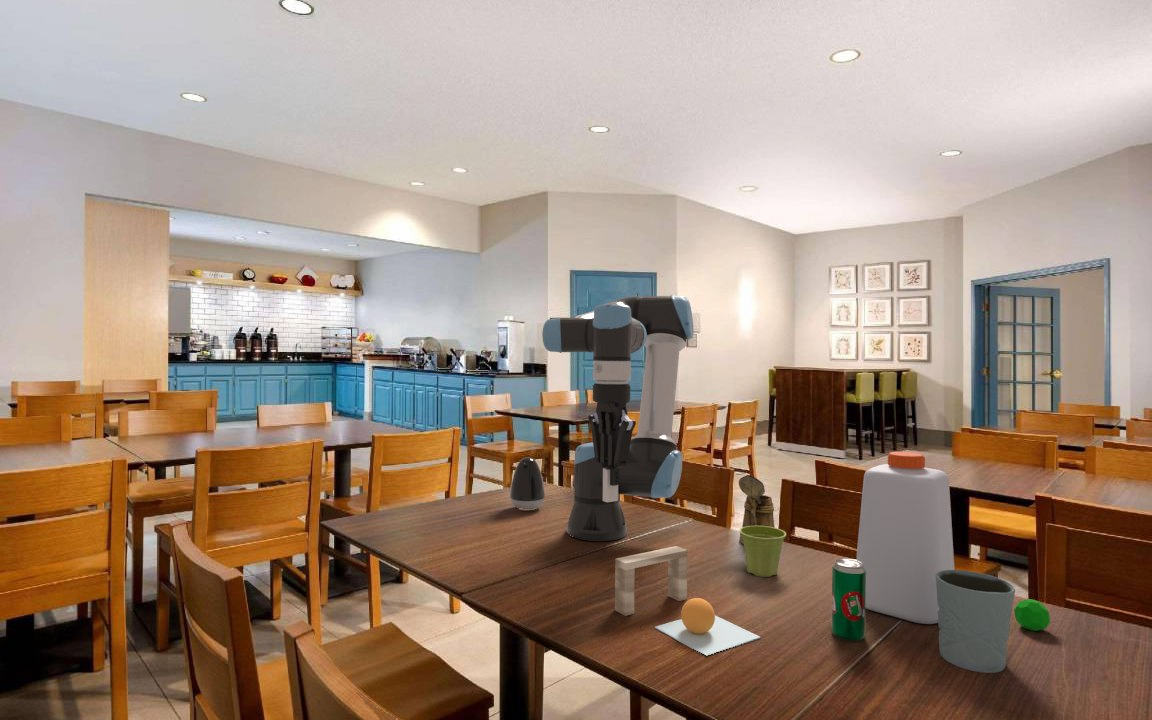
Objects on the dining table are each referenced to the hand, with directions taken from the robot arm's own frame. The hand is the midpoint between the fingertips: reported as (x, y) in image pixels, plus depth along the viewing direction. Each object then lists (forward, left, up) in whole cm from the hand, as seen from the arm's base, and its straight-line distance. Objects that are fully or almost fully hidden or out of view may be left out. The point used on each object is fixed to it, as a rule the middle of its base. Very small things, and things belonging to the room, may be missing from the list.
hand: (610, 500), depth 128 cm
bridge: (+13, 0, -16) cm, 21 cm away
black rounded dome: (-61, +15, -17) cm, 65 cm away
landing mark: (+27, 0, -16) cm, 32 cm away
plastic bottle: (+38, +39, -17) cm, 57 cm away
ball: (+26, -1, -14) cm, 29 cm away
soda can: (+40, +19, -17) cm, 47 cm away
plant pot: (+12, +31, -17) cm, 37 cm away
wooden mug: (-2, +45, -17) cm, 48 cm away
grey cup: (+55, +28, -17) cm, 64 cm away
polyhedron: (+55, +48, -17) cm, 75 cm away
